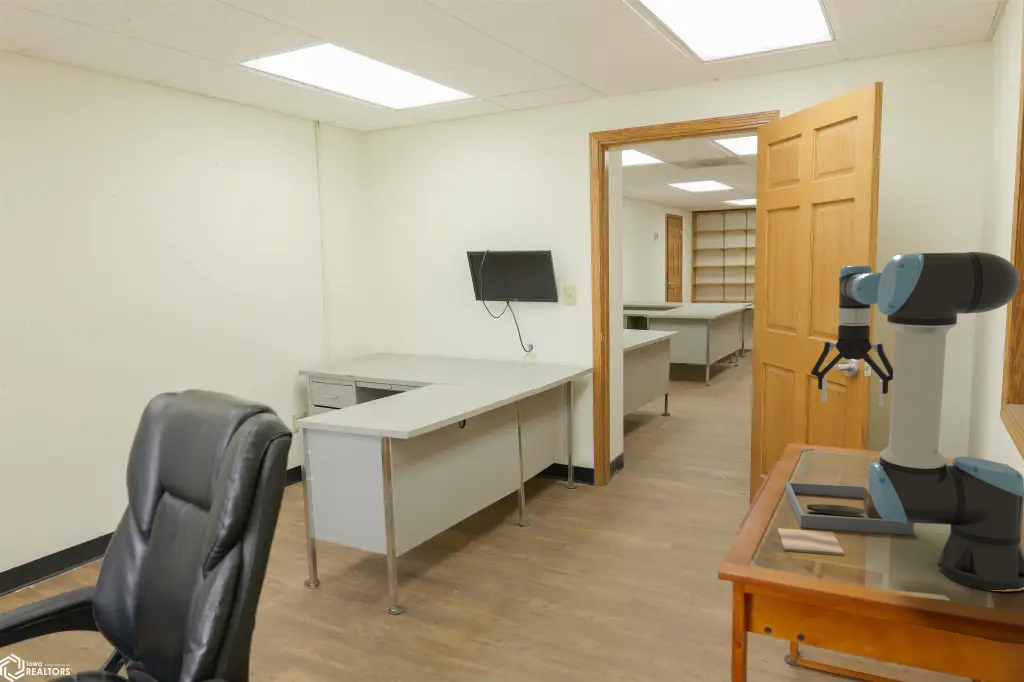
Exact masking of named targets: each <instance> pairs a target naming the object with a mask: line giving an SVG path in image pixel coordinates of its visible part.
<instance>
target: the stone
mask: <svg viewBox="0 0 1024 682" xmlns="http://www.w3.org/2000/svg"><path fill="white" fill-rule="evenodd" d="M806 508H807V510H808V511H809V510H810V511H812V512H817V513H819V514H820V513H822V514H824V515H825V514H827V515H831V516H841V517H854V516H860V515H863V514H866V513H865V511H864V510H863V508H859V507H854V506H850V505H849V506H848V505H839V504H838V505H837V504H824V503H823V504H822V503H819V504H816V503H813V504H807V505H806Z"/></svg>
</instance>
